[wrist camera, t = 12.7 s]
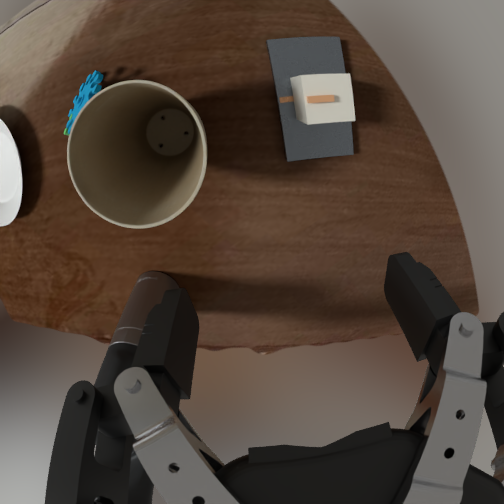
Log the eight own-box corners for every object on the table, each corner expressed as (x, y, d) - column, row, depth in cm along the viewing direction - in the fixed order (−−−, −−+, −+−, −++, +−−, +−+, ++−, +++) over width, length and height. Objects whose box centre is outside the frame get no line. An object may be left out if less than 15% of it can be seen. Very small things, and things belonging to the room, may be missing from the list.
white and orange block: (332, 75, 30) (352, 73, 24) (337, 115, 33) (358, 121, 27) (290, 77, 30) (302, 74, 24) (296, 119, 33) (309, 125, 27)
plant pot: (200, 192, 41) (177, 248, 28) (115, 161, 37) (59, 202, 24) (239, 102, 33) (234, 109, 20) (145, 71, 30) (87, 67, 17)
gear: (95, 58, 26) (95, 91, 24) (125, 70, 31) (131, 104, 29) (62, 112, 31) (59, 152, 29) (90, 119, 36) (92, 159, 34)
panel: (350, 152, 37) (365, 162, 32) (286, 159, 38) (292, 170, 33) (336, 38, 27) (350, 31, 22) (266, 42, 28) (269, 33, 23)
